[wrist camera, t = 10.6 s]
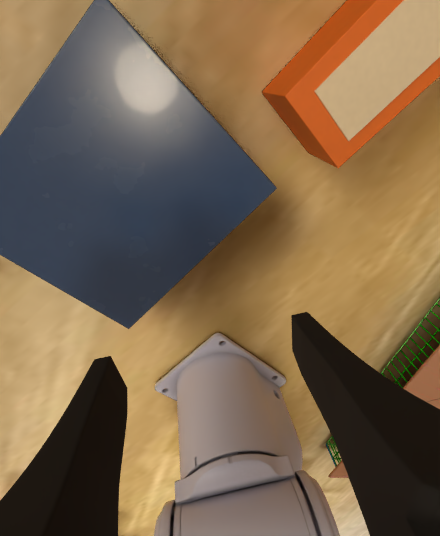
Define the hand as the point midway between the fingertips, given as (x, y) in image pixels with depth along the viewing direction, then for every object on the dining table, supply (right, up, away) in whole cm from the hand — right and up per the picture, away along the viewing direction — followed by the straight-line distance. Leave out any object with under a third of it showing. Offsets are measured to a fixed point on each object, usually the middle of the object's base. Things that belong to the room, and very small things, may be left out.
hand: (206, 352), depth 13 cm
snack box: (+8, +15, +5) cm, 17 cm away
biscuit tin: (-5, +8, +6) cm, 12 cm away
